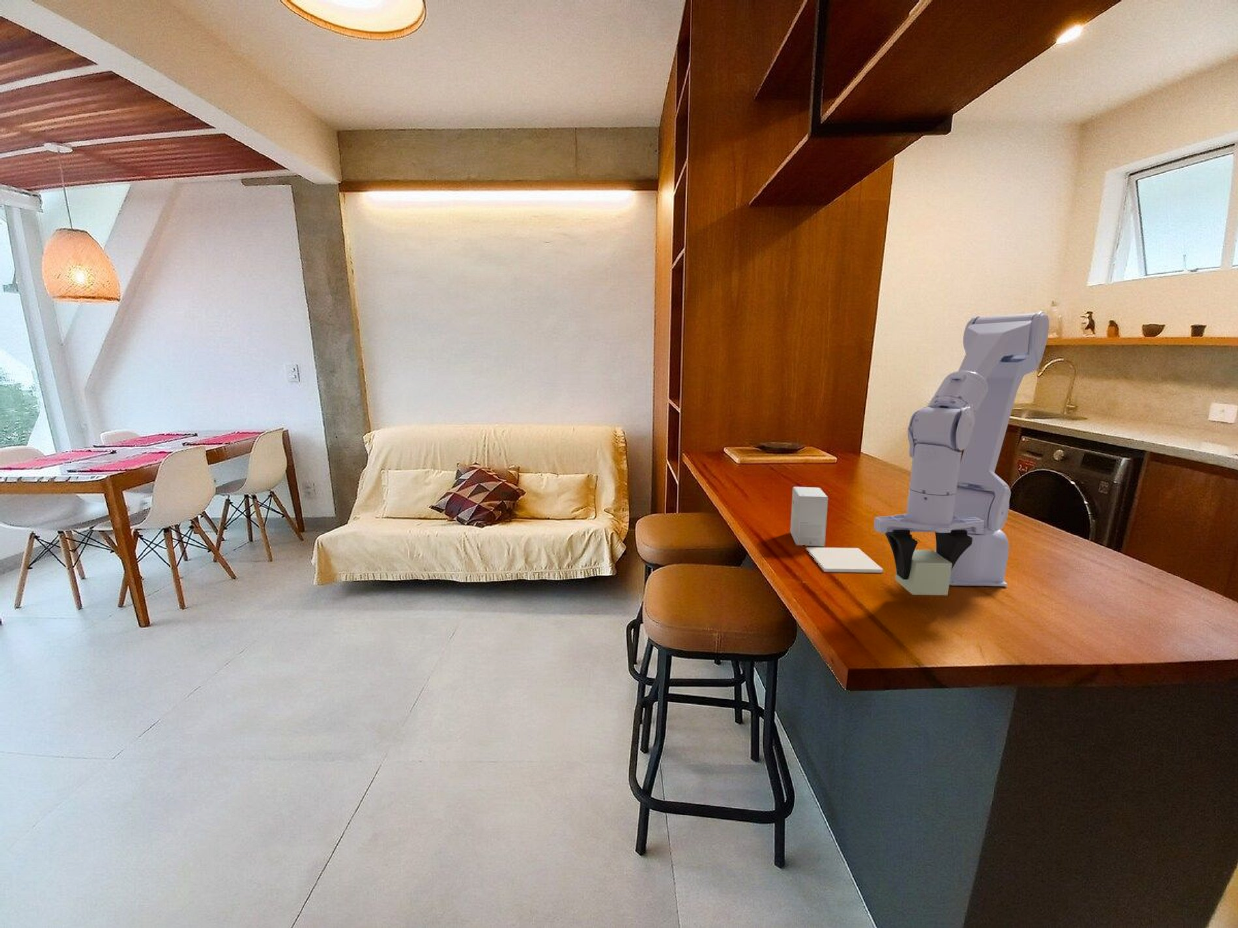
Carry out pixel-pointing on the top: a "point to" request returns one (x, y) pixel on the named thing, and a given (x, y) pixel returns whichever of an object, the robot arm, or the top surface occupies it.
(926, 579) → the cube
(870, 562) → the tile
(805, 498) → the small box
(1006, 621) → the top surface
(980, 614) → the top surface
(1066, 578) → the top surface
